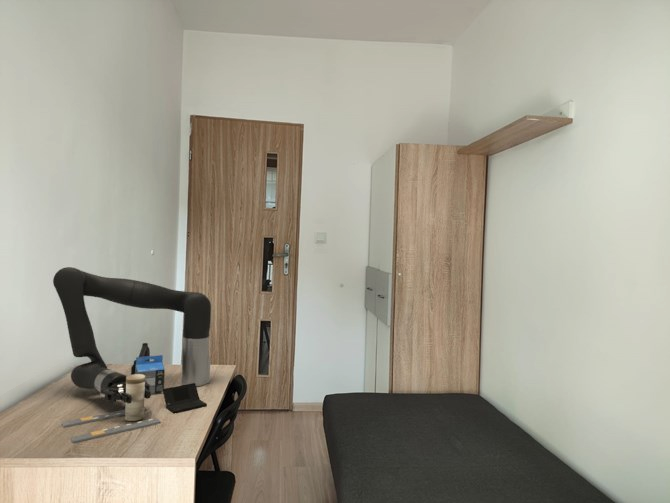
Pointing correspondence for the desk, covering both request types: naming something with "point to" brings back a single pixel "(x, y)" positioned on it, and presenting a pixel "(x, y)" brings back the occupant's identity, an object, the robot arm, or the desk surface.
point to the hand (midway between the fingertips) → (139, 397)
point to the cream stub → (135, 397)
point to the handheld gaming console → (182, 398)
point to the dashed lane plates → (106, 431)
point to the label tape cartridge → (152, 372)
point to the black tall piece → (143, 353)
